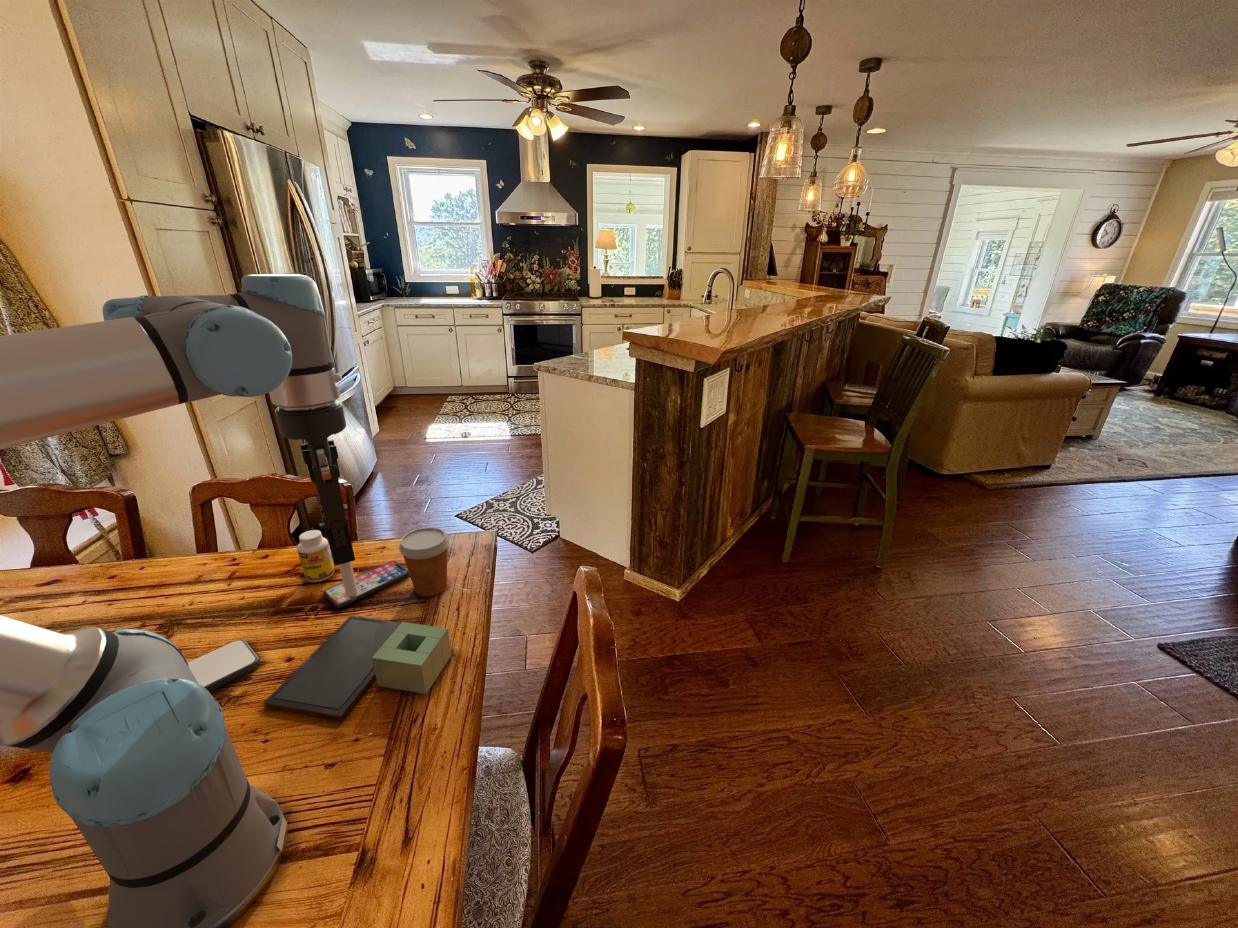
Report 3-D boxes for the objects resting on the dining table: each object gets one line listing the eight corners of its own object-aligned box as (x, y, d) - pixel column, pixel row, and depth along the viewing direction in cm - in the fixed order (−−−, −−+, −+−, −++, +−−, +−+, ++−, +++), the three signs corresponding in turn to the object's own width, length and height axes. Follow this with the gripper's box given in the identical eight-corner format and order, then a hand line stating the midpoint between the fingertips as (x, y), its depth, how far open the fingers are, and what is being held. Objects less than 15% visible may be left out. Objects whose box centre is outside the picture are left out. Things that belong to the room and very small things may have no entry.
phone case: (244, 643, 87) (122, 699, 75) (242, 635, 87) (118, 692, 75) (263, 667, 82) (135, 732, 71) (261, 659, 82) (132, 724, 70)
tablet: (341, 721, 73) (340, 715, 73) (265, 707, 75) (263, 701, 74) (415, 628, 91) (414, 624, 91) (351, 619, 93) (350, 614, 93)
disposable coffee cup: (464, 578, 106) (458, 530, 101) (436, 606, 97) (428, 554, 92) (426, 569, 108) (419, 522, 103) (396, 596, 100) (386, 545, 95)
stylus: (354, 603, 74) (334, 515, 68) (344, 601, 74) (324, 514, 69) (361, 596, 76) (342, 510, 70) (352, 595, 76) (332, 509, 70)
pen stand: (426, 694, 78) (421, 665, 75) (378, 686, 79) (371, 657, 77) (451, 655, 85) (447, 628, 83) (407, 648, 87) (402, 621, 84)
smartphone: (321, 590, 99) (393, 559, 110) (322, 594, 100) (394, 562, 110) (337, 606, 95) (410, 572, 105) (338, 610, 95) (411, 575, 106)
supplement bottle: (299, 583, 103) (288, 541, 99) (314, 567, 108) (303, 527, 104) (326, 583, 103) (316, 541, 99) (340, 568, 108) (330, 527, 104)
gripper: (349, 413, 60) (380, 575, 69) (334, 387, 71) (363, 529, 80) (275, 422, 56) (319, 593, 65) (271, 393, 67) (309, 542, 76)
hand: (343, 557), depth 72 cm, fingers closed on stylus, 1 cm apart
